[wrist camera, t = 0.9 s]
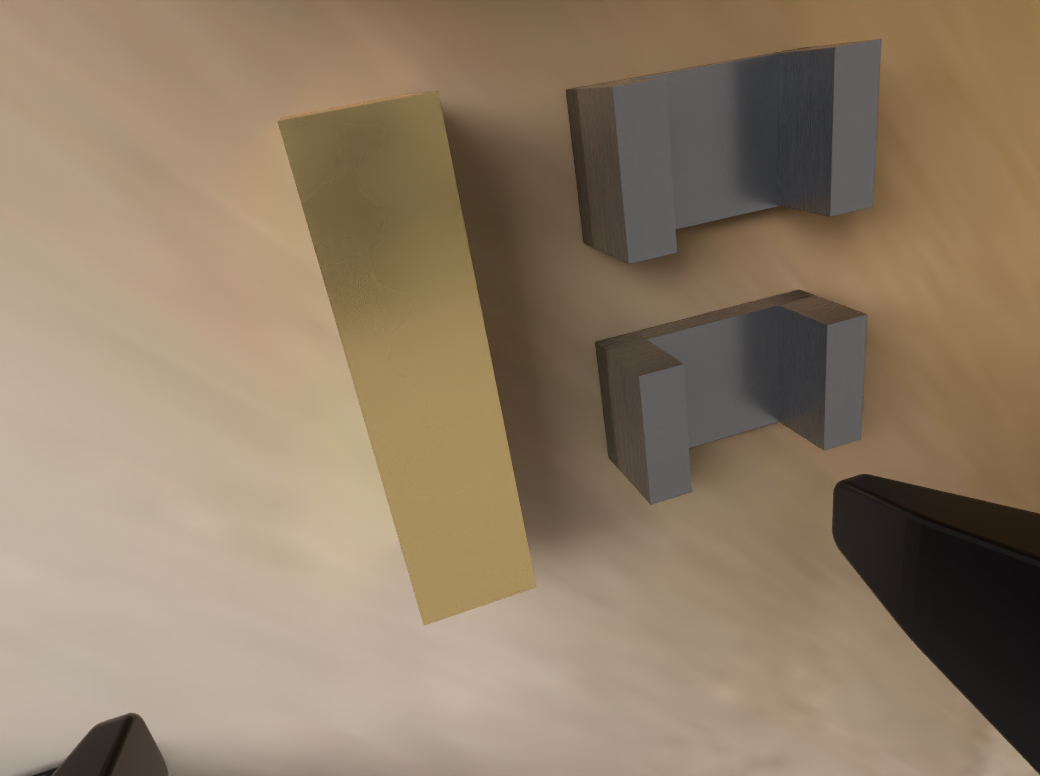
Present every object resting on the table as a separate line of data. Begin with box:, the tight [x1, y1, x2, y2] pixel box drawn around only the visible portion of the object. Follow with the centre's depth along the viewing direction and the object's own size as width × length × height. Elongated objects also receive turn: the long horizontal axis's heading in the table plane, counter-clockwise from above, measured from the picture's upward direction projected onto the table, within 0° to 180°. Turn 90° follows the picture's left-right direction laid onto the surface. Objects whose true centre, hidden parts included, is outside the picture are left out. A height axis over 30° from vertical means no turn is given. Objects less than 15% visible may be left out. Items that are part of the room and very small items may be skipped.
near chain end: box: [566, 39, 881, 264], centre depth 18 cm, size 4×7×3 cm, turn 100°
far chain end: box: [595, 290, 867, 504], centre depth 21 cm, size 4×7×3 cm, turn 100°
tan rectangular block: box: [278, 91, 536, 625], centre depth 18 cm, size 12×3×4 cm, turn 11°
